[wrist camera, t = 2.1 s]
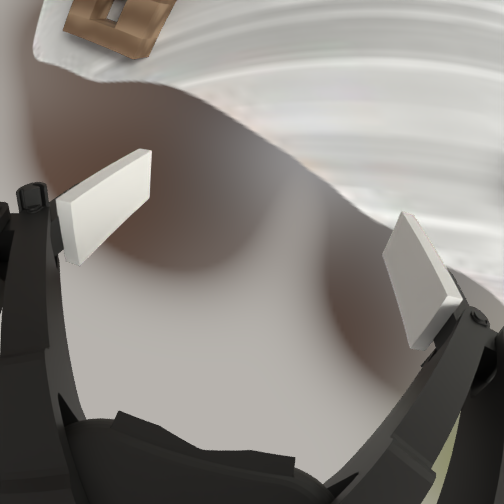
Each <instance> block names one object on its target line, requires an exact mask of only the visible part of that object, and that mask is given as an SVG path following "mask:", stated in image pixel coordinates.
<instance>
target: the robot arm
mask: <svg viewBox="0 0 504 504" xmlns="http://www.w3.org/2000/svg"><path fill="white" fill-rule="evenodd" d="M151 156H152V151H151V150H145V149H138V150H136V151H134V152H132V153H130V154H128V155H127V156H125V157H123V158H121V159H119V160H118V161H116V162H114V163H112V164H111V165H109V166H108V167H106V168H104V169H102V170H100V171H99V172H97V173H95V174H94V175H92V176H91V177H89V178H87V179H86V180H84V181H83V182H81V183H78V184H76V185H74V186H73V187H71V188H70V189H69V190H67V191H65V192H64V193H63V194H61V195H59V196H58V197H56V198H55V199H53V200H52V201H51V202H49V201H48V193H47V186H46V184H45V183H41V182H35V183H30V184H27V185H24V186H22V187H21V188H19V189H18V190H17V191H16V195H17V202H18V207H19V213H10V211H9V206H8V203H6V202H0V313H1V310H2V322H1V348H0V351H1V352H0V504H421V502H422V501H423V499H424V498H425V496H426V495H427V493H428V491H429V490H430V488H431V486H432V485H433V483H434V481H435V478H436V473H435V472H434V471H433V470H431V468H432V466H433V464H434V462H435V460H436V459H437V457H438V455H439V453H440V451H441V450H442V448H443V446H444V444H445V442H446V440H447V438H448V436H449V434H450V432H451V430H452V428H453V426H454V424H455V422H456V419H457V418H458V415H459V413H460V411H461V413H460V419H459V424H458V430H457V434H456V439H455V443H454V448H453V452H452V456H451V460H450V463H449V467H448V471H447V474H446V477H445V481H444V484H443V487H442V490H441V493H440V496H439V499H438V502H437V504H504V327H503V328H502V329H501V330H500V332H499V333H497V332H495V331H493V330H491V329H490V324H489V321H488V319H487V318H486V316H485V315H484V314H483V313H482V312H481V311H480V310H478V309H477V308H475V307H471V306H469V304H468V302H467V300H466V298H465V297H464V295H463V293H462V291H461V290H460V287H459V285H458V284H457V281H456V279H455V278H454V276H453V274H451V272H450V271H449V270H448V269H447V268H446V267H445V265H444V263H443V261H442V260H441V258H440V256H439V254H438V253H437V251H436V249H435V248H434V246H433V244H432V243H431V241H430V239H429V238H428V236H427V235H426V233H425V231H424V230H423V228H422V227H421V225H420V224H419V222H418V221H417V219H416V218H415V216H414V215H412V214H409V213H406V212H403V211H401V214H400V216H399V218H398V221H397V223H396V225H395V228H394V230H393V232H392V235H391V237H390V239H389V241H388V243H387V246H386V248H385V250H384V252H383V254H382V255H383V258H384V261H385V264H386V267H387V270H388V273H389V276H390V279H391V283H392V286H393V289H394V292H395V295H396V299H397V302H398V306H399V309H400V312H401V316H402V320H403V323H404V327H405V331H406V335H407V338H408V342H409V347H410V349H416V350H423V351H425V350H426V349H427V348H428V347H429V345H430V344H431V343H432V342H433V340H434V343H435V346H436V348H435V349H434V351H433V352H432V353H431V354H430V356H429V357H428V358H427V359H426V361H424V363H423V364H422V365H421V367H422V369H421V371H420V372H419V373H418V375H417V376H416V378H415V379H414V381H413V382H412V384H411V385H410V387H409V388H408V389H407V391H406V392H405V394H404V395H403V396H402V398H401V399H400V400H399V402H398V403H397V404H396V406H395V407H394V408H393V410H392V411H391V412H390V414H389V415H388V416H387V417H386V419H385V420H384V421H383V422H382V424H381V425H380V426H379V428H378V429H377V430H376V431H375V432H374V433H373V435H372V436H371V437H370V438H369V439H368V440H367V442H366V443H365V444H364V445H363V446H362V447H361V448H360V449H359V451H358V452H357V453H356V454H355V455H354V456H353V457H352V458H351V459H350V460H349V461H348V462H347V463H346V464H345V466H344V467H343V468H342V469H341V470H339V472H337V473H336V474H335V475H334V476H332V477H331V478H330V479H329V480H327V481H326V482H325V483H324V484H322V483H320V482H319V481H318V480H317V479H315V478H314V477H312V476H311V475H309V474H308V473H305V472H304V471H302V470H300V469H297V468H295V467H294V465H295V457H290V456H282V455H276V454H270V453H264V452H258V451H252V450H242V451H214V450H211V451H210V450H202V449H199V448H196V447H195V446H193V445H191V444H190V443H188V442H186V441H184V440H182V439H181V438H179V437H177V436H176V435H174V434H172V433H170V432H169V431H167V430H165V429H164V428H162V427H161V426H159V425H156V424H153V423H150V422H147V421H145V420H142V419H139V418H136V417H134V416H131V415H129V414H126V413H124V412H121V411H118V413H117V415H116V417H115V419H101V418H100V419H88V420H86V417H85V415H84V413H83V410H82V408H81V405H80V402H79V398H78V394H77V390H76V386H75V381H74V377H73V372H72V367H71V361H70V357H69V350H68V344H67V338H66V331H65V324H64V315H63V307H62V296H61V283H60V265H59V258H58V253H60V252H61V251H62V250H64V254H65V259H66V261H67V262H69V263H72V264H75V265H78V266H81V265H82V263H83V262H84V261H85V260H86V259H87V258H88V257H89V256H90V255H91V254H92V253H93V252H94V251H95V250H96V249H97V248H98V247H99V246H100V245H101V244H102V243H103V242H104V241H105V239H107V238H108V237H109V236H110V235H111V234H112V233H113V232H114V231H115V230H116V229H117V228H118V227H119V226H120V225H121V224H122V223H123V222H124V221H125V220H126V219H127V218H128V217H129V216H131V215H132V214H133V213H134V212H135V211H136V210H137V209H138V208H139V207H140V206H141V205H142V204H143V203H144V202H146V201H147V200H148V199H149V197H150V174H151ZM2 307H3V309H2Z"/></svg>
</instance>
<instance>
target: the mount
mask: <svg viewBox="0 0 504 504" xmlns="http://www.w3.org/2000/svg"><path fill="white" fill-rule="evenodd" d="M113 1H114V0H74V1H73V3H72V6H71V8H70V11H69V14H68V17H67V19H66V22H65V25H64V28H63V31H65V32H68V33H70V34H73V35H76V36H78V37H81V38H84V39H86V40H89V41H91V42H94V43H96V44H99V45H101V46H103V47H106V48H108V49H111V50H113V51H115V52H117V53H120V54H122V55H124V56H126V57H129V58H131V59H138V58H144V57H149V55H150V52H151V50H152V48H153V46H154V44H155V42H156V39H157V37H158V35H159V33H160V31H161V29H162V27H163V25H164V23H165V21H166V19H167V17H168V15H169V14H170V12H171V10H172V8H173V6H174V4H175V2H176V1H177V0H127V1H126V4H125V6H124V8H123V10H122V12H121V15H120V17H119V19H118V21H117V22H115V21H112V20H109V19H106V18H107V15H108V13H109V10H110V8H111V6H112V4H113Z"/></svg>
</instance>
